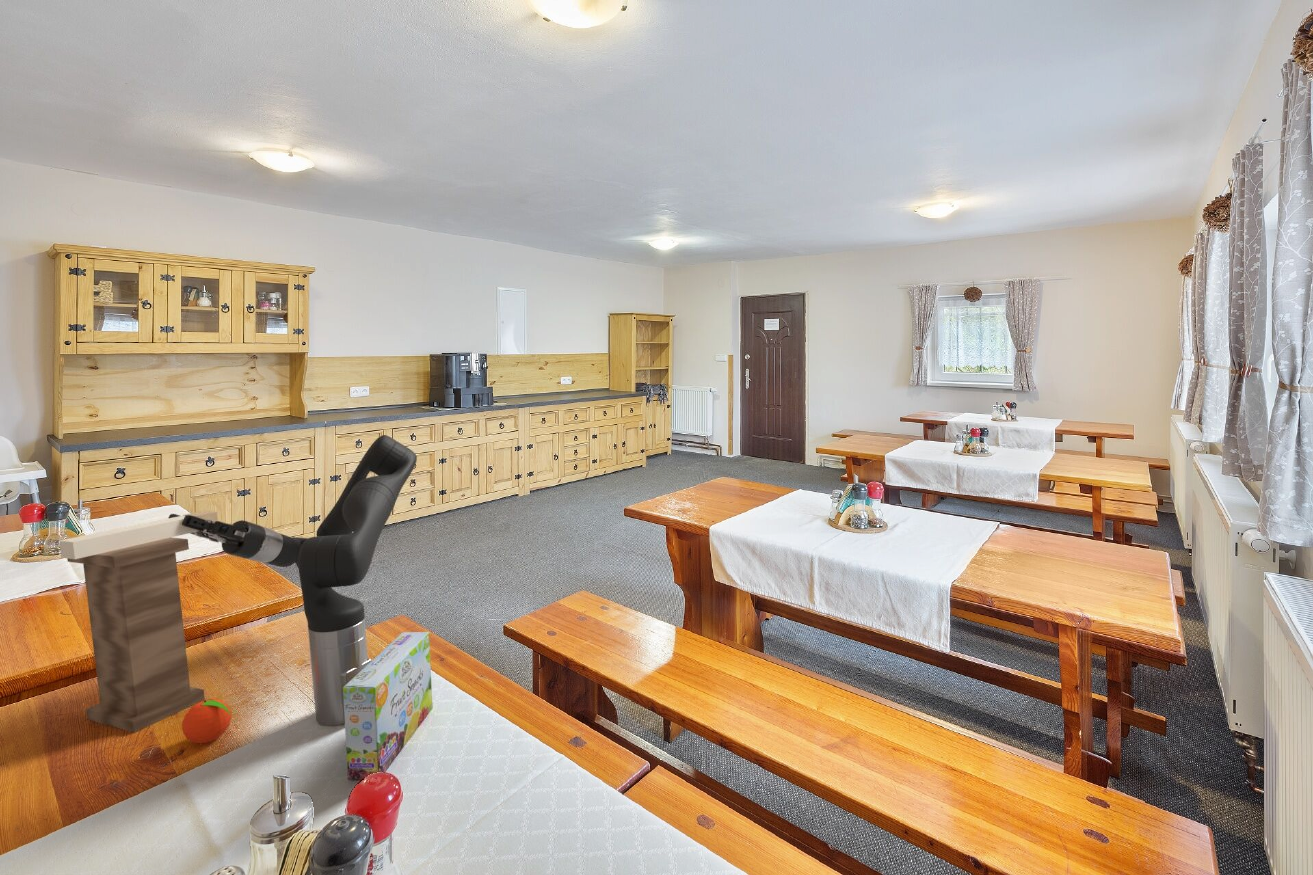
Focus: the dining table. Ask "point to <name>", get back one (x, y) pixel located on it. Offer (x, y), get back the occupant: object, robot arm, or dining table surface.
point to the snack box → (387, 704)
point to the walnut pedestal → (138, 634)
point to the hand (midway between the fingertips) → (177, 519)
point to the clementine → (206, 721)
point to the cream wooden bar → (129, 536)
